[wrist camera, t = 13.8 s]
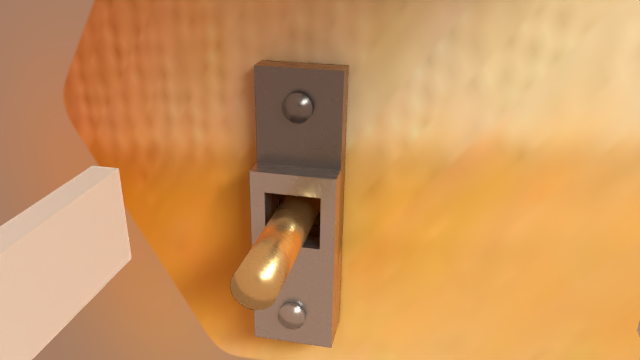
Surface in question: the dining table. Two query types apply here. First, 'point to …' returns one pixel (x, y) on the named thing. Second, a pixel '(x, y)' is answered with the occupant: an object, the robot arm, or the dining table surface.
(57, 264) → the robot arm
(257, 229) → the riveted square sleeve
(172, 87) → the dining table surface
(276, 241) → the brass pin
